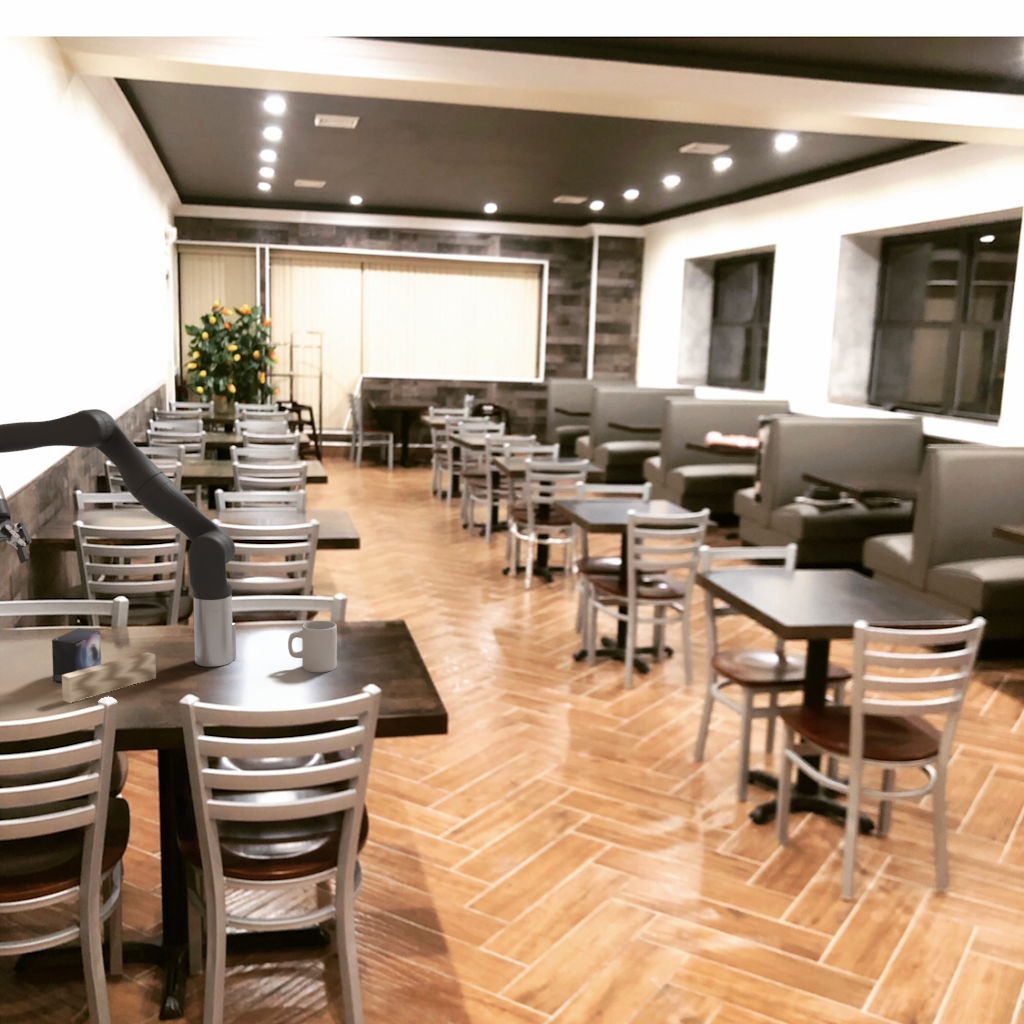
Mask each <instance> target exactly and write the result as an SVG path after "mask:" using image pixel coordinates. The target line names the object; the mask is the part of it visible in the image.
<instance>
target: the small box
mask: <svg viewBox="0 0 1024 1024" xmlns="http://www.w3.org/2000/svg"><path fill="white" fill-rule="evenodd" d="M101 643H102V642H101V630H95V629H88V628H87V629H86V628H80V627H78V628H75V629H73V630H72V631H69V632H67V633H65V634H62V635H60V636H57V637H56V638H53V639H51V649H52V652H51V653H52V654H51V655H52V656H51V657H52V682H53V683H61V684H62V675H63V674H67V673H71V672H75V671H78V670H82V669H86V668H90V667H93V666H97V665H101V664H102V650H101V649H102V648H101V647H102V646H101Z"/></svg>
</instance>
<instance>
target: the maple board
mask: <svg viewBox="0 0 1024 1024" xmlns="http://www.w3.org/2000/svg"><path fill="white" fill-rule="evenodd" d="M156 662H157V661H156V654H155V653H151V652H149V651H146V652H142V653H139V654H135V655H131V656H127V657H123V658H120V659H119V658H118V659H117V660H112V661H107V662H104V663H101V665H97V666H93V667H90V668H86V669H82V670H78V671H75V672H71V673H67V674H63V675H62V683H61V687H62V689H61V691H62V701H63V702H65V701H66V703H68V702H69V703H68V704H70V703H71V704H73V703H72V702H74V701H78V700H80V699H83V698H86V697H90V696H94V695H97V694H100V693H102V692H107V691H112V690H115V689H118V688H122V687H125V688H127V687H126V686H129V687H131V686H130V685H132V686H134V685H133V684H136V685H138V684H137V683H139V684H142V683H146V682H148V681H152V679H153V680H155V679H157V670H156V669H157V668H156V666H157V665H156ZM145 681H146V682H145ZM141 682H142V683H141ZM122 689H123V688H122ZM115 691H116V690H115ZM112 692H113V691H112ZM78 702H79V701H78ZM74 703H75V702H74Z"/></svg>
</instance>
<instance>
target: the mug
mask: <svg viewBox="0 0 1024 1024" xmlns="http://www.w3.org/2000/svg"><path fill="white" fill-rule="evenodd" d="M337 629H338V627H337V623H335V622H333V621H329V620H313V621H308V622H305V623H303V624H302V629H301V630H298V631H297V630H296V631H293V632H291V633H290V635H289V637H288V641H287V648H288V649H287V650H288V652H289V655H290V656H291V657H292V658H295V659H302V661H301V662H302V664H301V665H302V669H303V670H304V671H306V672H311V673H326V672H327V673H328V672H330V671H333V670H335V669H336V668H337V666H338V660H337V659H338V658H337V657H338V656H337V654H338V653H337V652H338V651H337V649H338V648H337V644H338V643H337V638H338V637H337V636H338V635H337V634H338V633H337V632H338V631H337ZM295 638H299V639H301V640H302V641H301V643H302V649H301V650H299V651H295V650H294V649H293V641H294V639H295Z"/></svg>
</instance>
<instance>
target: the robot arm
mask: <svg viewBox="0 0 1024 1024" xmlns="http://www.w3.org/2000/svg"><path fill="white" fill-rule="evenodd" d="M53 446H54V447H57V446H58V447H61V446H62V447H64V446H65V447H77V448H89V449H90V448H96V449H98V451H100V452H101V453H103V455H104V456H106V458H108V460H109V461H111V462H112V463H113V464H114V466H115V467H116V469H117V470H118V473H119V474H120V476H121V479H122V481H123V483H124V486H125V487H126V489H127V490H128V492H129V493H130V494H131V495H132V496H133V497H134V499H136V501H138V503H139V504H141V506H142V507H143V508H144V509H146V510H147V511H148V512H149V513H151V514H152V515H154V517H155V516H156V518H159V519H160V520H162V521H164V522H165V523H168V524H169V525H170V526H173V527H175V528H176V529H178V530H179V531H180V532H181V533H182V534H183V535H184V536H186V538H188V540H189V541H190V544H189V545H190V546H189V550H188V569H189V571H188V572H189V582H190V583H189V584H190V586H191V589H192V591H193V592H192V593H193V594H192V595H193V629H194V630H193V631H194V633H193V635H194V663H195V664H196V665H198V666H201V667H209V668H211V667H212V668H213V667H222V666H225V665H228V664H231V663H232V662H233V661H234V660H236V659H237V643H236V642H237V639H236V638H237V636H236V635H237V634H236V623H235V622H233V600H232V598H233V596H232V593H233V592H232V590H233V589H232V584H231V583H230V582H229V581H228V580H227V570H226V568H227V567H226V565H227V564H228V563H229V562H231V561H232V560H233V558H234V557H235V554H236V546H235V542H234V541H233V538H232V537H231V536H230V535H229V534H228V533H227V532H226V531H225V530H224V529H223V528H221V527H220V526H219V525H218V524H216V523H215V522H214V521H213V520H211V519H210V518H209V517H208V516H207V515H205V514H204V513H203V512H202V511H201V510H200V509H199V508H198V507H197V506H196V504H194V503H193V502H192V500H190V498H189V497H188V496H187V495H186V494H185V493H184V492H182V490H181V489H180V488H179V487H178V485H176V484H175V483H174V482H173V481H172V479H170V477H168V475H167V474H166V473H164V471H163V470H162V469H160V468H159V467H158V466H157V465H156V464H155V463H154V462H153V461H152V460H151V459H150V458H149V457H148V456H147V455H146V454H145V453H144V452H143V451H142V450H141V449H140V448H138V447H137V446H136V445H135V443H134V442H133V441H132V440H131V438H130V437H129V436H128V435H127V434H126V433H125V431H124V430H123V429H122V428H121V426H120V425H119V423H117V421H116V420H115V419H114V418H113V417H112V416H111V414H109V413H107V412H106V411H104V410H102V409H98V408H97V409H96V408H95V409H84V410H80V411H77V412H74V413H72V414H68V415H66V416H62V417H59V418H54V419H50V420H49V419H48V420H42V421H23V422H21V421H20V422H11V423H9V422H8V423H2V424H0V454H2V453H14V452H22V451H27V450H34V449H39V448H46V447H53ZM11 516H12V515H11V511H10V508H9V505H8V502H7V499H6V496H5V493H4V491H3V488H2V486H1V485H0V543H5V542H6V543H7V544H9V545H11V546H12V547H14V549H16V550H15V551H16V554H17V556H18V559H19V563H20V564H25V563H26V562H28V561H29V553H28V551H27V548H26V547H27V546H28V545H30V544H31V543H32V539H31V536H30V534H29V531H28V529H27V526H26V523H25V522H24V521H19V522H17V523H13V522H12V520H11Z"/></svg>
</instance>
